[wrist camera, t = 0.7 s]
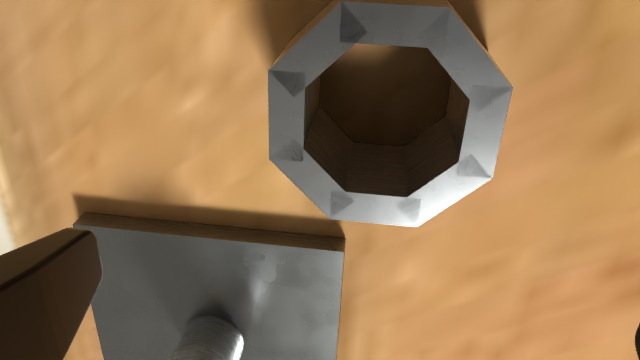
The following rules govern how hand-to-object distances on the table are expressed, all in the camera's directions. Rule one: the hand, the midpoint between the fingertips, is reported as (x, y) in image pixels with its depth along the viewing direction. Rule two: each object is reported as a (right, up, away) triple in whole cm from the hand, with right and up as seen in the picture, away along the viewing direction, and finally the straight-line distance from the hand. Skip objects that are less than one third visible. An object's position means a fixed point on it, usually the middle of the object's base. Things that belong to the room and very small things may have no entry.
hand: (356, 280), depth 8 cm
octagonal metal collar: (+2, +5, +10) cm, 12 cm away
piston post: (-6, -6, +17) cm, 19 cm away
